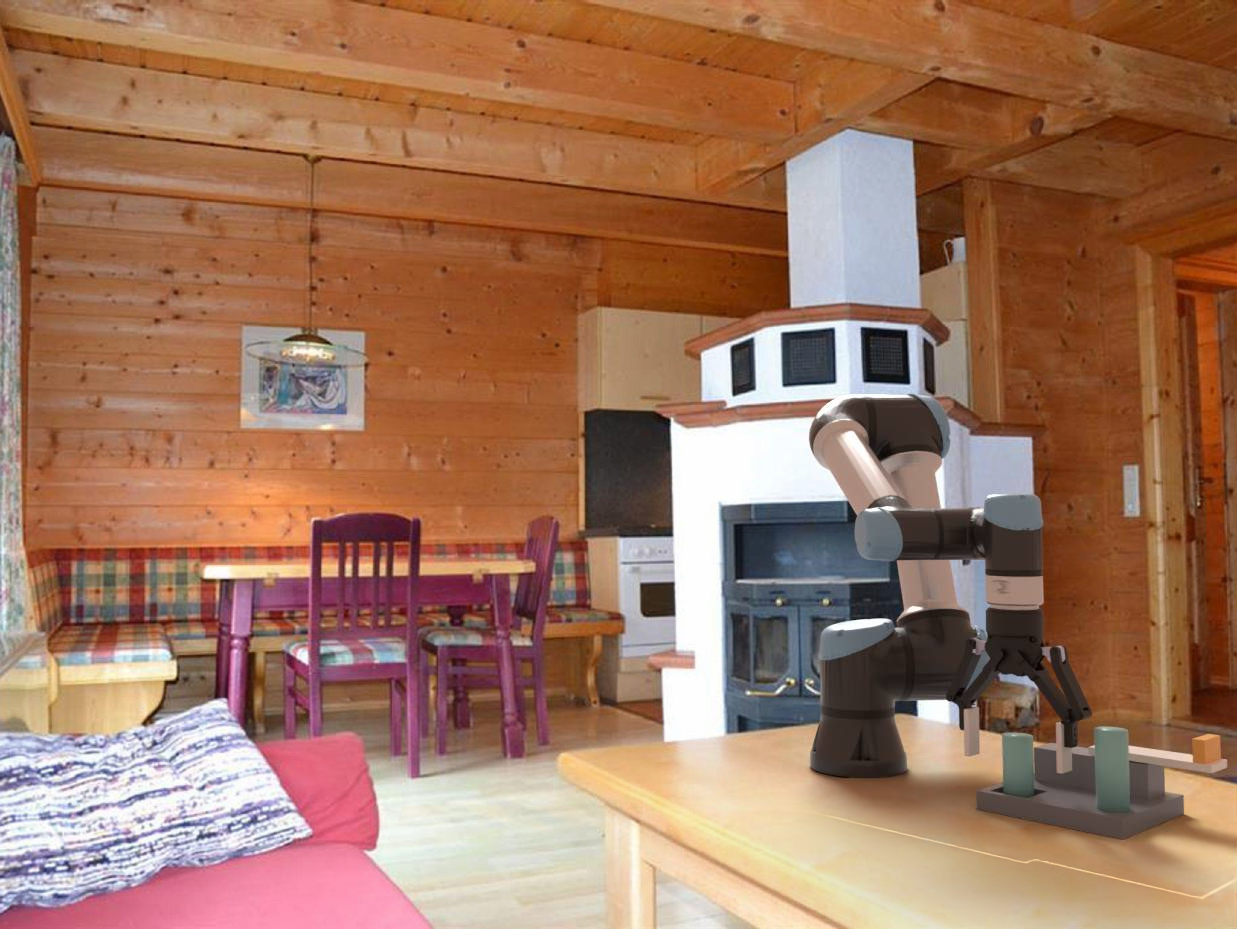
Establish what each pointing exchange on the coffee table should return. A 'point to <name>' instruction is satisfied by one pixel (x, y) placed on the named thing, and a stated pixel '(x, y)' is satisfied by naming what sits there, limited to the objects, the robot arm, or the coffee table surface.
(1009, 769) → the peg
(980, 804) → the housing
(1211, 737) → the lid
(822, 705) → the robot arm
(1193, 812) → the coffee table surface
